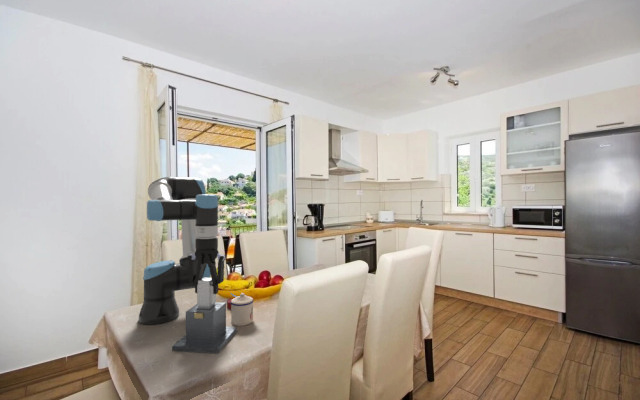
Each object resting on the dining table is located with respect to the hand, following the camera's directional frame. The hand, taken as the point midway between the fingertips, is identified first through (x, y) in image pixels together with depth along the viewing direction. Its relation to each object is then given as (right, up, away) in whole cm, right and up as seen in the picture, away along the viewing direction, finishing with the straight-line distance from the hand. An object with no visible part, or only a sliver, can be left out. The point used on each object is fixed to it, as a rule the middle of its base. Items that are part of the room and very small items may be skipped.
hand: (206, 302), depth 104 cm
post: (0, -12, 0) cm, 12 cm away
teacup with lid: (+8, -14, +17) cm, 23 cm away
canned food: (+2, -14, +34) cm, 37 cm away
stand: (0, -14, 0) cm, 14 cm away
